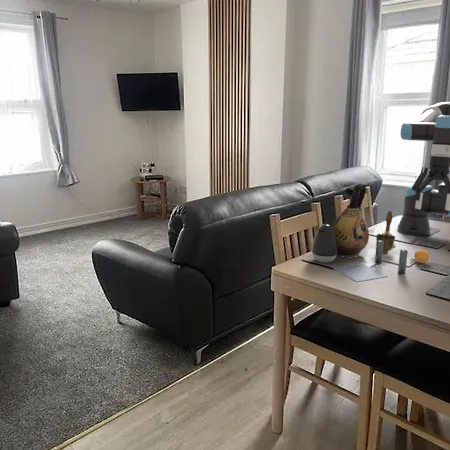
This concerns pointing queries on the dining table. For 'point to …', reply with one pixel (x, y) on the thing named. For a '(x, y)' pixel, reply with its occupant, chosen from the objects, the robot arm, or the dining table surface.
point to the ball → (421, 256)
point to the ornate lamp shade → (386, 242)
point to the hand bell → (388, 225)
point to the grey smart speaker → (325, 244)
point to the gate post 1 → (379, 251)
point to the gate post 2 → (402, 262)
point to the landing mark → (360, 272)
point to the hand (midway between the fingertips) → (432, 209)
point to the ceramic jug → (352, 224)
